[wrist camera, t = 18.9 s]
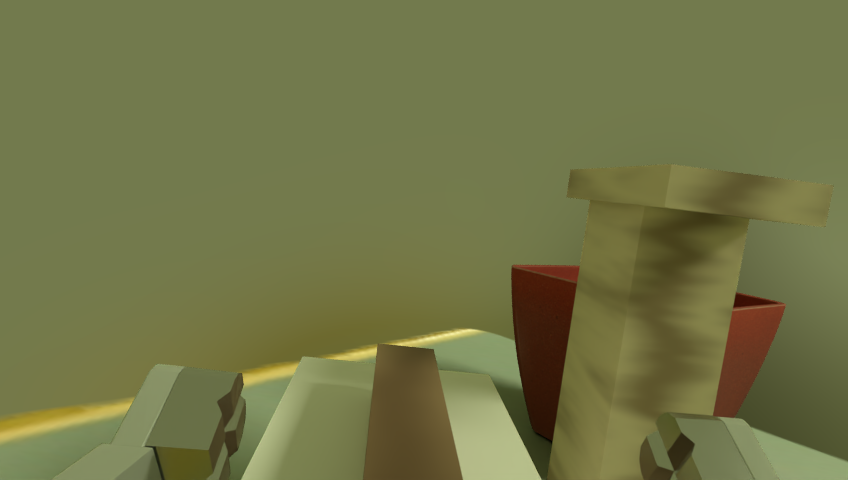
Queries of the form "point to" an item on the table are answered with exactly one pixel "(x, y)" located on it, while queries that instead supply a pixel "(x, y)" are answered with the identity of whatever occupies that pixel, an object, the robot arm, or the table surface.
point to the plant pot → (550, 326)
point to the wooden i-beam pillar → (656, 302)
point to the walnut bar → (409, 419)
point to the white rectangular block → (349, 419)
